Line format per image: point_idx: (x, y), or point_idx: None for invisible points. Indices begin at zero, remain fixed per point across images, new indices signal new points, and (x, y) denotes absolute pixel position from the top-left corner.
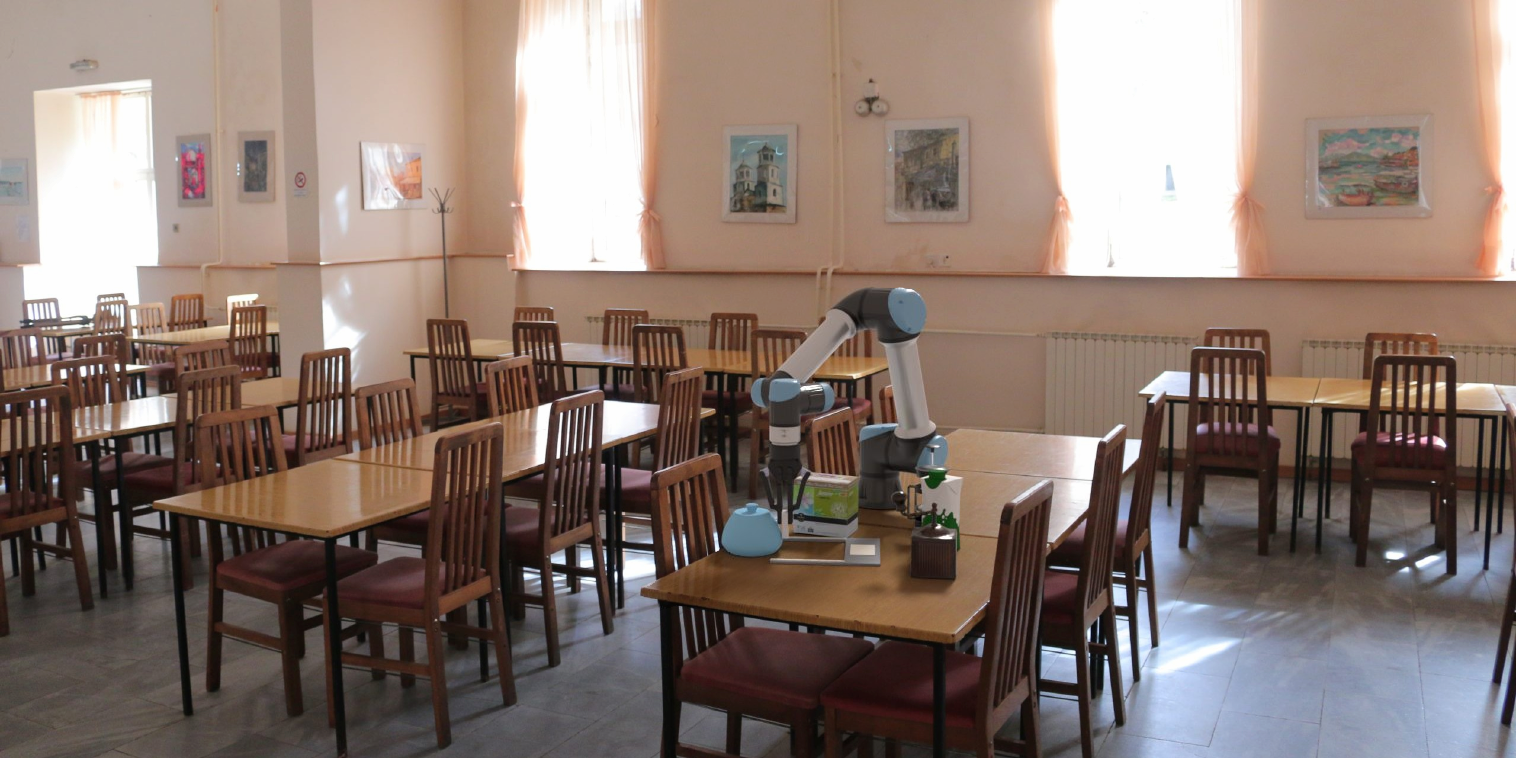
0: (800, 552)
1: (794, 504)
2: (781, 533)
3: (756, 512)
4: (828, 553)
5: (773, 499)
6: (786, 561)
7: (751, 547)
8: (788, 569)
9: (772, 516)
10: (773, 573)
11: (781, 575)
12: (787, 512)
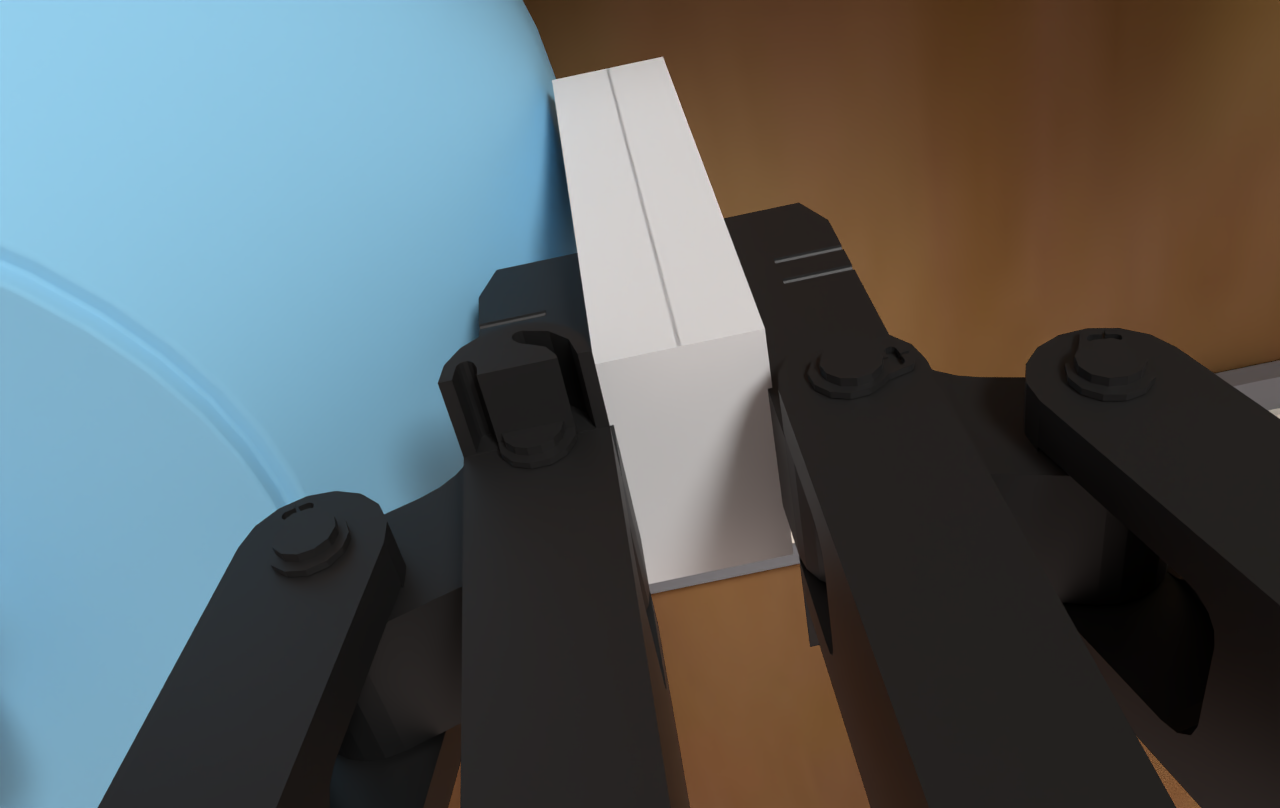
0: (842, 95)
1: (1020, 524)
2: (549, 155)
3: (5, 652)
4: (1244, 28)
5: (334, 725)
6: (753, 566)
7: None
8: (802, 677)
9: (389, 468)
10: (693, 786)
11: (771, 802)
12: (787, 550)
